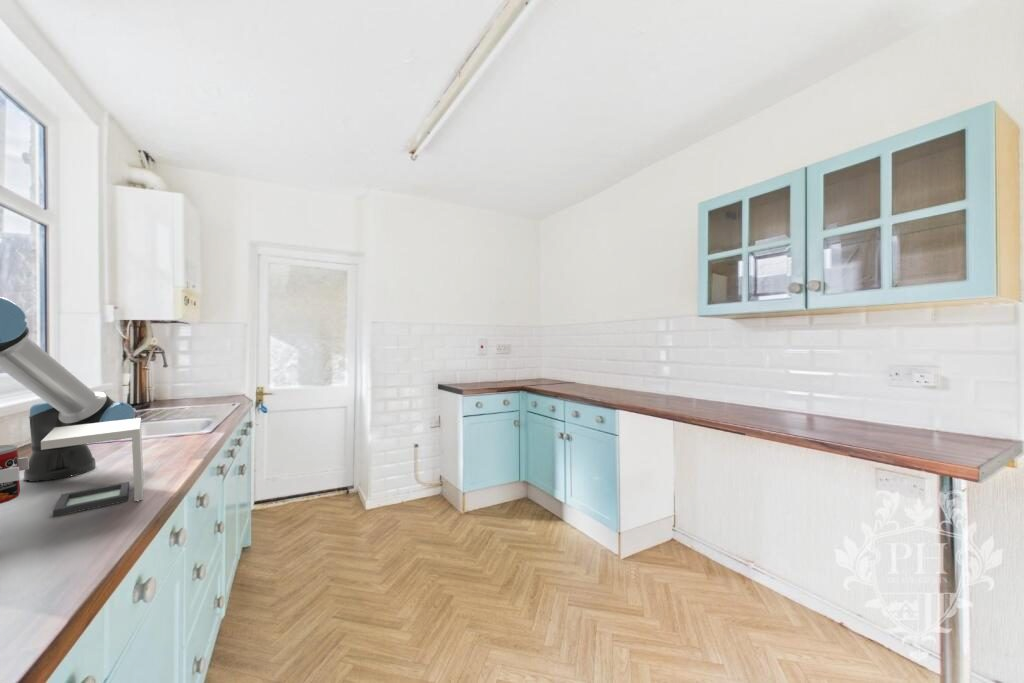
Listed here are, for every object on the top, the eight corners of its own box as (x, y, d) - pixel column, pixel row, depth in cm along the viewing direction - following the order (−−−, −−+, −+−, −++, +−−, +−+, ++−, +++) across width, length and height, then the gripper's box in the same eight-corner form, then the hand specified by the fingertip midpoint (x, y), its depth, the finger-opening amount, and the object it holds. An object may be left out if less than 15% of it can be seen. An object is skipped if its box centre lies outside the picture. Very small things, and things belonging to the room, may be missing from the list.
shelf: (44, 521, 96) (40, 441, 95) (57, 497, 109) (54, 427, 108) (142, 500, 107) (139, 428, 106) (143, 481, 120) (140, 417, 120)
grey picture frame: (53, 516, 98) (52, 510, 98) (61, 499, 108) (61, 494, 108) (127, 500, 107) (126, 495, 107) (129, 486, 116) (128, 481, 116)
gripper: (-138, 500, 82) (35, 472, 97) (-206, 541, 66) (12, 500, 81) (-141, 463, 81) (33, 441, 97) (-210, 496, 66) (10, 463, 81)
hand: (23, 468), depth 89 cm, fingers closed on canned food, 8 cm apart
